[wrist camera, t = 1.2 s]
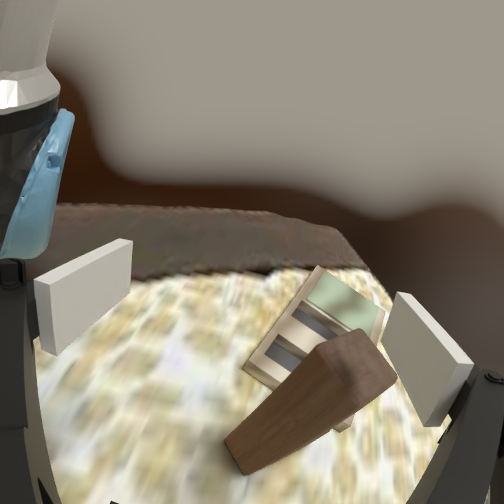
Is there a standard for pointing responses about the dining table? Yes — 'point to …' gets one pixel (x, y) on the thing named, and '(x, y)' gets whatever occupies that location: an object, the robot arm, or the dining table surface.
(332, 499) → the dining table surface
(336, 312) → the board
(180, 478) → the dining table surface
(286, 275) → the dining table surface
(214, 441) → the dining table surface
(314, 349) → the wooden block
